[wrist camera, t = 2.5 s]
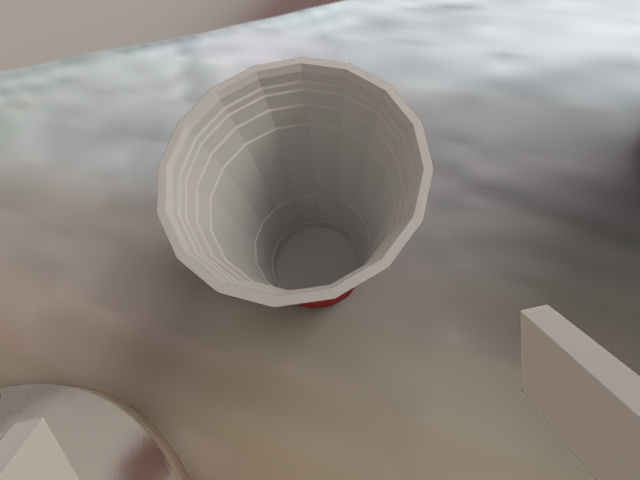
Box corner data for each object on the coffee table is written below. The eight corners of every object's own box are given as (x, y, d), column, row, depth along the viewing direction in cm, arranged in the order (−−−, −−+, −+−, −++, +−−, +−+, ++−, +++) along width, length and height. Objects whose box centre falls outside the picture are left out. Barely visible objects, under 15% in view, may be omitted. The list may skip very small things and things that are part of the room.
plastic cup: (202, 305, 26) (88, 222, 15) (283, 175, 29) (242, 29, 18) (355, 387, 23) (357, 360, 12) (425, 232, 26) (476, 102, 15)
